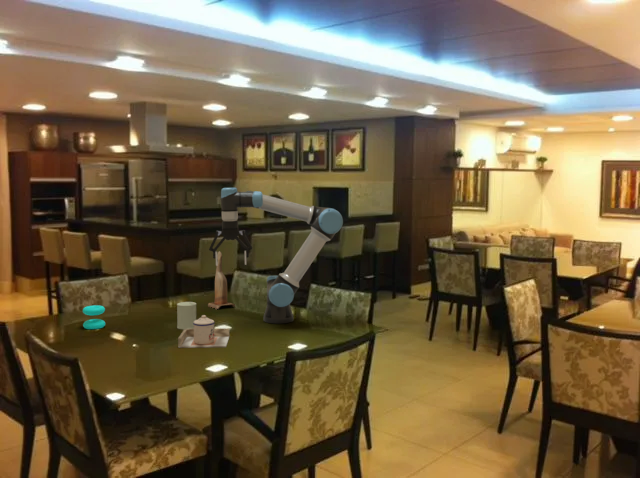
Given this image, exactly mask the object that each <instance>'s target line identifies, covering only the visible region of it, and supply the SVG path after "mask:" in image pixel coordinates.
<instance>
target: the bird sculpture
mask: <svg viewBox="0 0 640 478" xmlns="http://www.w3.org/2000/svg"><path fill="white" fill-rule="evenodd" d="M217 255H218V266H216V269H215V276H214V277H215V278H214V302H213V301H211V302H208V304H207V307H208V308H211V307H212V308H211V309H213V308H215V310H217V309H218V310H219V309H220V308H221V307H222V306H229V307H232V308H233V307H234V308H236V305H235V304H234V303H232V302H228V280H227V278H226V277H227V276H225V274H224V273H223V268H222V267H223V262H222V261H223V254H222V252H221V251H220V250H218V251H217Z"/></svg>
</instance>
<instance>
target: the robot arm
mask: <svg viewBox="0 0 640 478" xmlns="http://www.w3.org/2000/svg"><path fill="white" fill-rule="evenodd" d="M220 200H221V201H220V202H221V205H220V206H221V220H222V222H221V229H222V230H216V231H215V235H214V238H213V240H212V242H211V244H210V247H209V248H208V250H209V251H210V252H212V255H213V256H212V258H213V259H215V266H216V267H217V266H218V251H217V250H218V249H219V247H221V245H222V244H223V243H224V242H225V240H226V241H235V240H236V241H237V242H238V244H240V246H241V247H242V248H244V251H243V252H244V266H245V265H246V266H247V258H250V255H249V253H250V251H251V250H253V246H252V244H251V243H250V241H249V239H248V237H247V235H246V230H244V229H243V230H239V221H238V219H239V215H238V214H239V211H238V208H254V209H259V210H262V211H265V212H268V213H269V212H270V213H273V214H276V215H281V216H284V217H289V218H290V219H291V218H292V219H296V220H300V221H303V222H306V223H307V224H308V225H310V232H309V235H308V236H307V237H306V239H305V241H304V242H303V243H302V245H301V246H300V247H299V250H298V251H297V252H296V254H295V256H294V257H292V258H293V259H292V260H291V261H290V263H289V265H288V266H287V267H286V269H285V270H284V272H282V273H281V272H280V273H279V274H278V275H268V276H267V278H266V307H265V311H264V314H263V322H265V323H268V324H288V323H292V322H294V314H293V310H292V308H291V303H292V302H293V301H294V297H295V294H296V293H297V291H298V290H299V288H300V281H301V280H302V279H303V276H304V275H305V274H306V272H307V271H308V270H309V268H310V267H311V264H312V263H313V262H314V260H316V257H317V256H318V254H319V253H320V252H321V250H322V249H323V247H324V246H325V244H326V242H330V241H331V240H332V239H333V238H334V236H335V234H336V233H337V234H338V232H339V231H340V230H341V229H342V227H343V224H344V219H343V216H342V214H341V213H340V212H339V211H338V210H336V209H335V208H331V207H322V206H316V205H311V206H309V205H304V204H301V203H296V202H293V201H289V200H286V199H282V198H278V197H274V196H270V195H266V194H263V192H262V191H259V190H258V191H257V190H256V191H255V190H254V191H253V190H246V191H238V188H237V187H223V188H221V191H220ZM220 235H221V236H222V238H221V239H220V241H219V242H218V243H217V244H216V241H217V239H218V237H219V236H220ZM239 235H241V236H242V237H243V239H244V240H245V243H246V244H247V245H246V244H245V243H244V241H242V240H241V239H240V238H239V237H238V236H239ZM215 244H216V246H215ZM214 246H215V247H214Z"/></svg>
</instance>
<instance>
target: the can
mask: <svg viewBox="0 0 640 478" xmlns="http://www.w3.org/2000/svg"><path fill="white" fill-rule="evenodd" d="M176 306H177V307H176V310H177V312H176V315H177V318H176V319H177V323H176V328H177V329H178V330H184V329H194V324H193V322H194V321H195V320H197V303H196V302H193V301H182V302H178V303H176Z"/></svg>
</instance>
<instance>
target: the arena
mask: <svg viewBox="0 0 640 478" xmlns="http://www.w3.org/2000/svg"><path fill="white" fill-rule="evenodd" d="M229 339H230V328H226V327H225V328H224V327H223V328H221V327H220V328H216V327H214V342H213V343H210V344H196V343H194V329H182V332H181V333H180V335H179V336H178V338H177V340H178V341H177V344H178V345H177V346H178V347H177V348H180V349H181V348H185V349H188V348H189V349H190V348H195V349H196V348H227V345H228V342H229Z"/></svg>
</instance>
